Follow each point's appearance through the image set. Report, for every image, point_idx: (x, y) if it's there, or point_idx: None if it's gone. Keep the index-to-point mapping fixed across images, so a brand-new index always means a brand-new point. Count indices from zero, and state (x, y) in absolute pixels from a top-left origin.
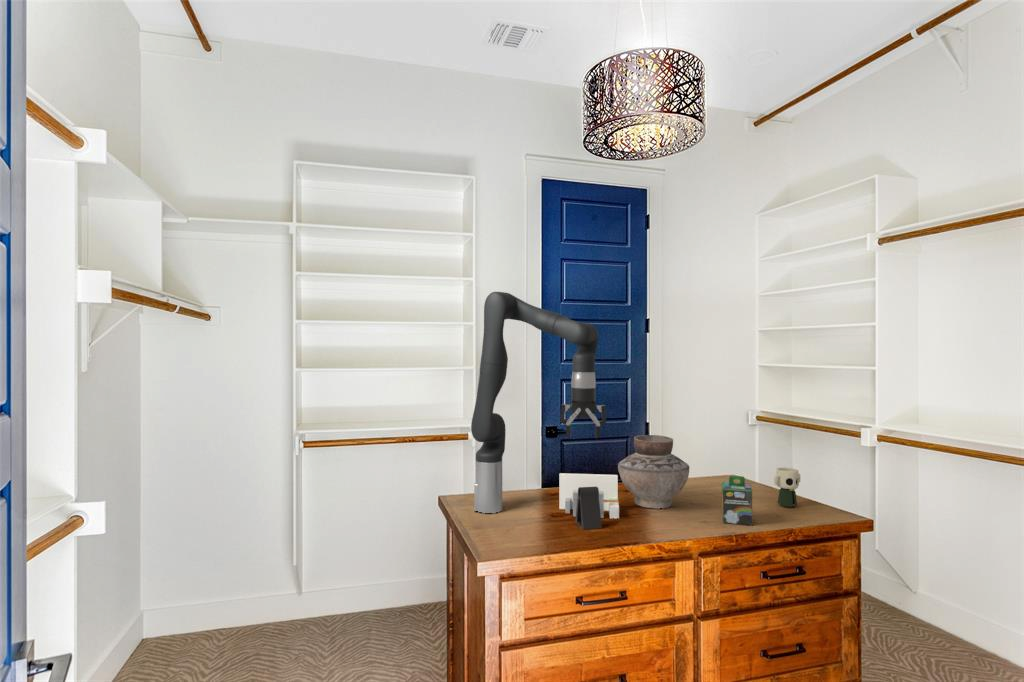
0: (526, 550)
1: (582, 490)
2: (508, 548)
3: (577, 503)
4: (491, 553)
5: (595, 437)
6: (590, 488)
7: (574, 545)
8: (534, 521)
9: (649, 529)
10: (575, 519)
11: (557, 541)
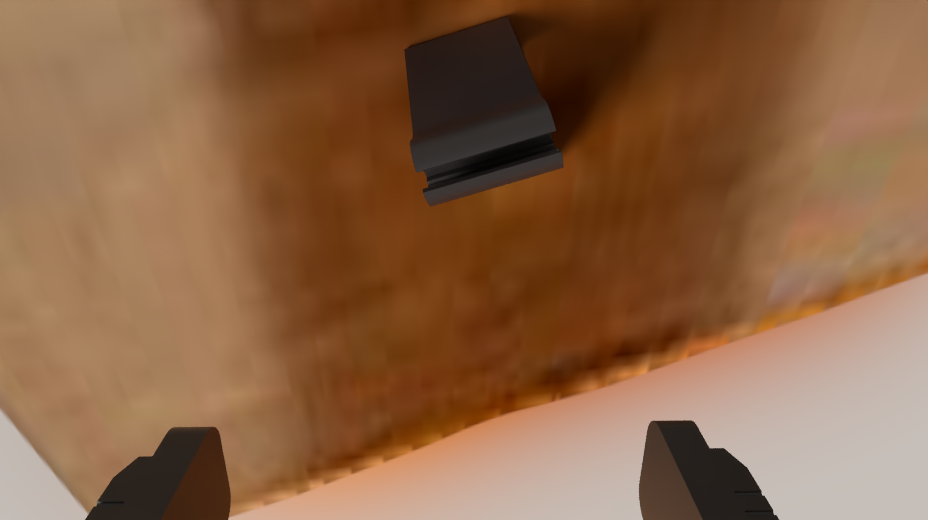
0: (236, 454)
1: (443, 200)
2: None
3: (411, 110)
4: None
5: (642, 505)
6: (503, 175)
7: (415, 389)
8: (174, 77)
9: (789, 147)
10: (405, 54)
11: (341, 355)
